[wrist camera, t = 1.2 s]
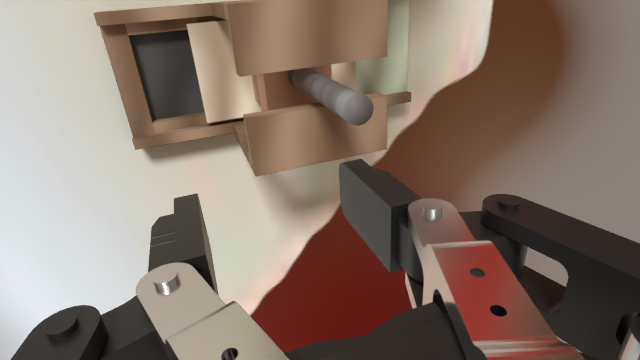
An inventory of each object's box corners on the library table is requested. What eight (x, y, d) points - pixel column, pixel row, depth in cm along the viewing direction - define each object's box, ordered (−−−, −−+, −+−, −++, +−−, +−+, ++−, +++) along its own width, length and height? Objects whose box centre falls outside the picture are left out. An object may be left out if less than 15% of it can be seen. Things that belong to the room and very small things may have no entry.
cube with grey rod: (206, 120, 38) (234, 209, 22) (186, 23, 34) (201, 44, 18) (353, 96, 43) (467, 155, 26) (350, 8, 39) (482, 13, 22)
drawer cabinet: (137, 141, 39) (122, 204, 27) (98, 12, 33) (58, 18, 21) (399, 97, 47) (478, 129, 35) (402, -13, 41) (496, -19, 30)
